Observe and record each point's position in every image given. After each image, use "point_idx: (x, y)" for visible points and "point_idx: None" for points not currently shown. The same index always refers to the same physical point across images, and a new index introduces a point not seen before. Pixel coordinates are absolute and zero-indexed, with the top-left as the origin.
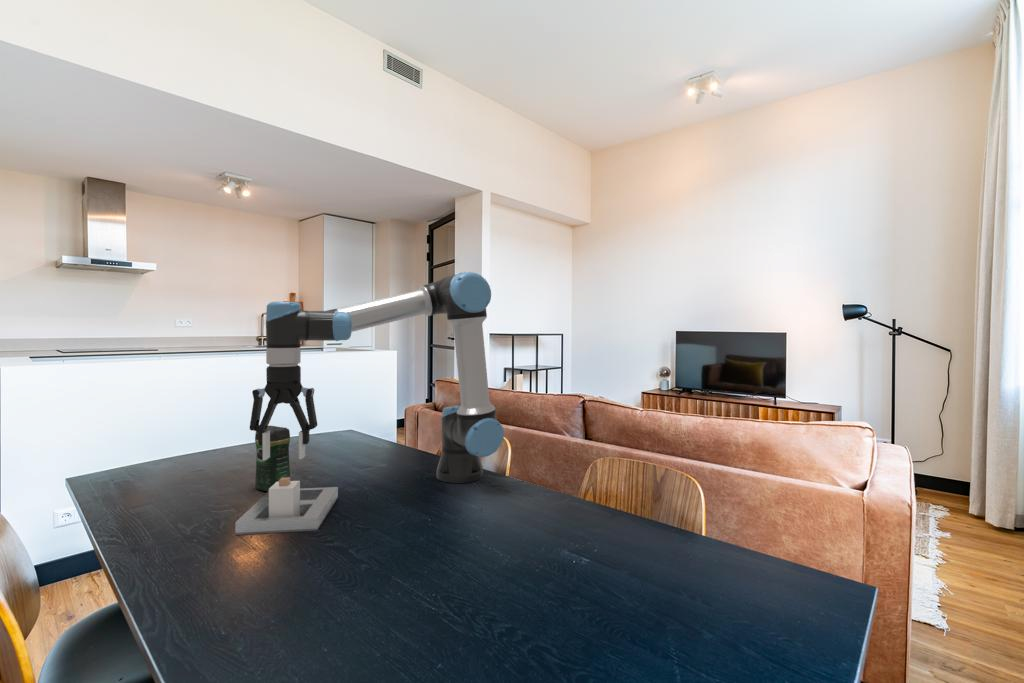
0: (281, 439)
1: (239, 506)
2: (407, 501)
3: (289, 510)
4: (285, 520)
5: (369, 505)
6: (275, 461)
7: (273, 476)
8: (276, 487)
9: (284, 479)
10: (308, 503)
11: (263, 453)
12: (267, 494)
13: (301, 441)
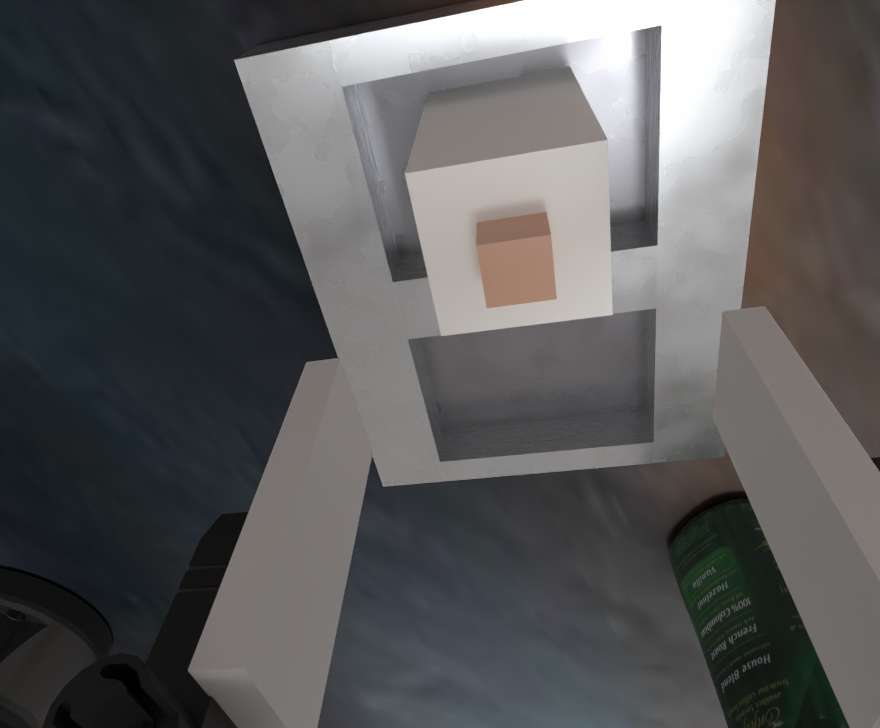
0: None
1: (849, 352)
2: (44, 411)
3: (444, 114)
4: (432, 19)
5: (187, 370)
6: (770, 642)
7: (750, 561)
8: (554, 182)
9: (510, 254)
10: (420, 286)
11: (787, 359)
12: None
13: (250, 527)
